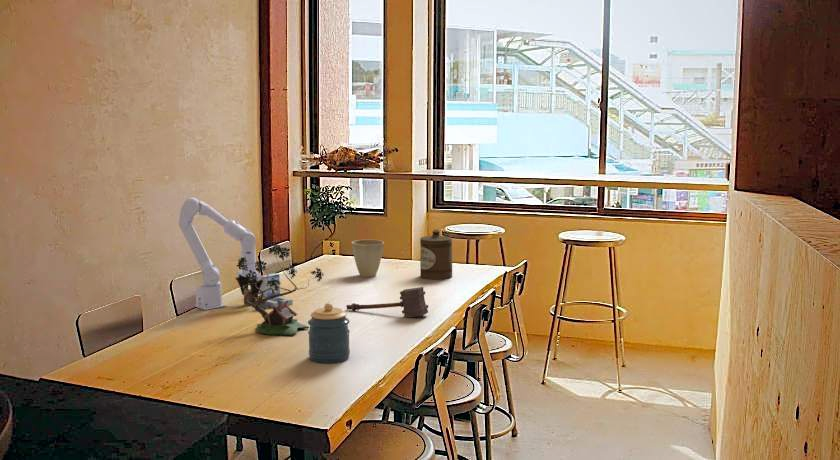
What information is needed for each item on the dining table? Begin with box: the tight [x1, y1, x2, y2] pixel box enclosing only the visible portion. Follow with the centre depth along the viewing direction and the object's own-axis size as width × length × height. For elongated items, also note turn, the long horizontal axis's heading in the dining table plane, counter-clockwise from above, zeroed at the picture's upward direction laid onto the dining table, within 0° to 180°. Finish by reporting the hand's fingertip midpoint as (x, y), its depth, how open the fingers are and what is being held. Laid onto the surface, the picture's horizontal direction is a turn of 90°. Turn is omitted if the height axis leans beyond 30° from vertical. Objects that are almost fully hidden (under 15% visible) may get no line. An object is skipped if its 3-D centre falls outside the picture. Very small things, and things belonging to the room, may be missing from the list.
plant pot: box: [351, 239, 385, 278], centre depth 397 cm, size 15×15×16 cm
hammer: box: [346, 286, 429, 319], centre depth 326 cm, size 7×33×10 cm, turn 69°
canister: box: [307, 302, 351, 364], centre depth 268 cm, size 13×13×18 cm
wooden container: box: [419, 229, 453, 281], centre depth 395 cm, size 15×15×22 cm
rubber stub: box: [258, 297, 268, 311], centre depth 334 cm, size 3×3×4 cm
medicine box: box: [258, 272, 281, 298], centre depth 358 cm, size 8×4×9 cm, turn 143°
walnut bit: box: [243, 288, 257, 307], centre depth 341 cm, size 3×3×6 cm
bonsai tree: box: [235, 243, 325, 337], centre depth 296 cm, size 35×24×32 cm
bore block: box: [267, 296, 294, 309], centre depth 341 cm, size 9×9×2 cm
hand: (249, 295), depth 341 cm, fingers open, 7 cm apart
